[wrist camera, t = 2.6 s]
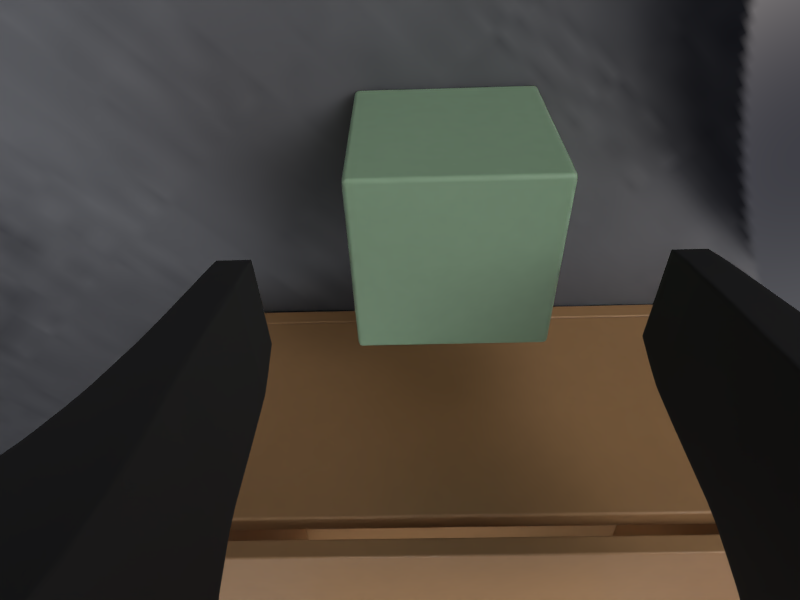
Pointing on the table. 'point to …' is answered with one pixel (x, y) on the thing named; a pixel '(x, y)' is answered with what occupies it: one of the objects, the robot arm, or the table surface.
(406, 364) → the carton
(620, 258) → the table surface
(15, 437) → the table surface
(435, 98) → the cube
